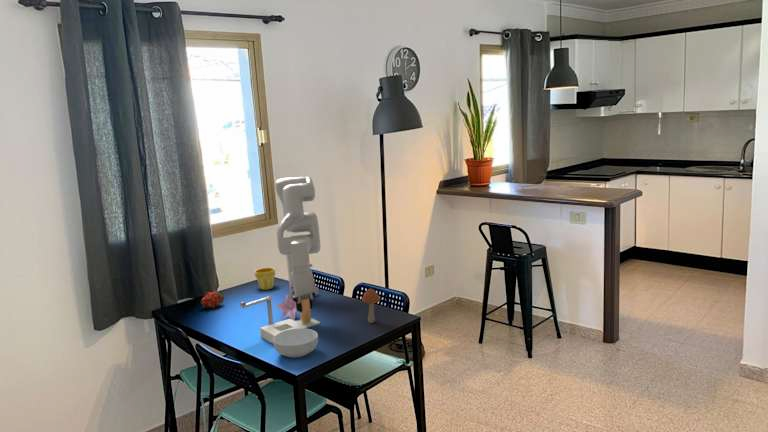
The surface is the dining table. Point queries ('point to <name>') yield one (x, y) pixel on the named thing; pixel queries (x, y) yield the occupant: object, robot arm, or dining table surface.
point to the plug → (305, 308)
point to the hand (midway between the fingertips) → (304, 309)
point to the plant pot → (265, 277)
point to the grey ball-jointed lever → (254, 302)
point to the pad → (309, 323)
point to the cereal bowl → (295, 342)
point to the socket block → (277, 325)
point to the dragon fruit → (212, 299)
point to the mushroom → (371, 303)
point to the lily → (288, 308)
